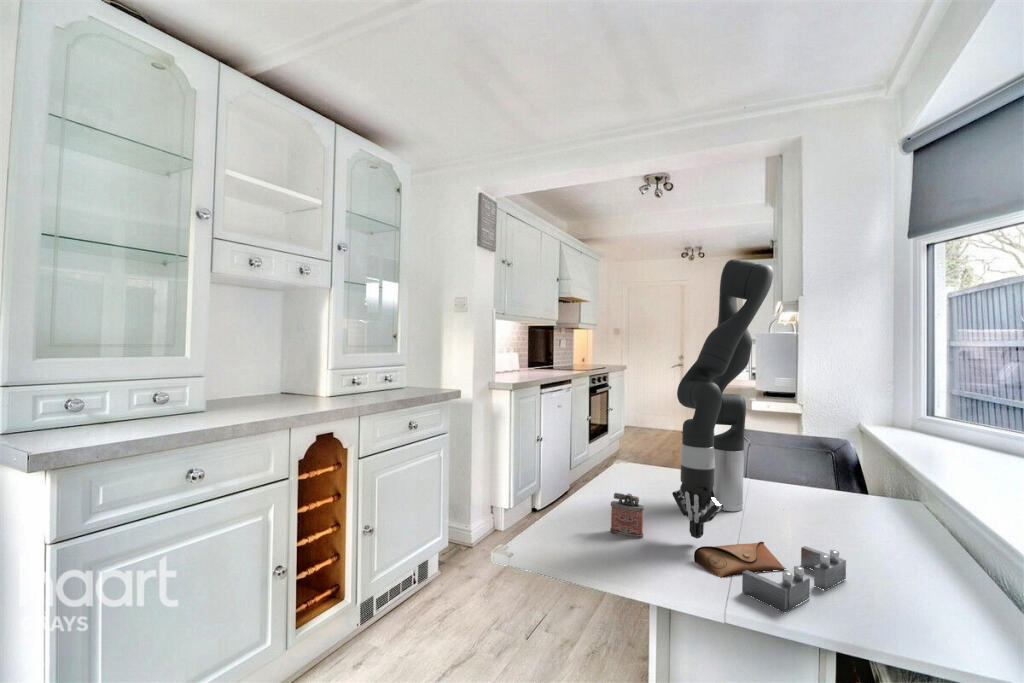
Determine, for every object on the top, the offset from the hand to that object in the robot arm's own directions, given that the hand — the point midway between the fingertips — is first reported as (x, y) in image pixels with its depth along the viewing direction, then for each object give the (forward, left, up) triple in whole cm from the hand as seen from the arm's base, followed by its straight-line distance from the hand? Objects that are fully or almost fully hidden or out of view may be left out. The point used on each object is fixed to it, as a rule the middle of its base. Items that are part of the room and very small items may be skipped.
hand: (696, 536), depth 114 cm
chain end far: (+23, +7, -2) cm, 24 cm away
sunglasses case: (+12, -1, -3) cm, 12 cm away
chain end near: (+23, -7, -2) cm, 24 cm away
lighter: (-13, -10, -2) cm, 16 cm away
